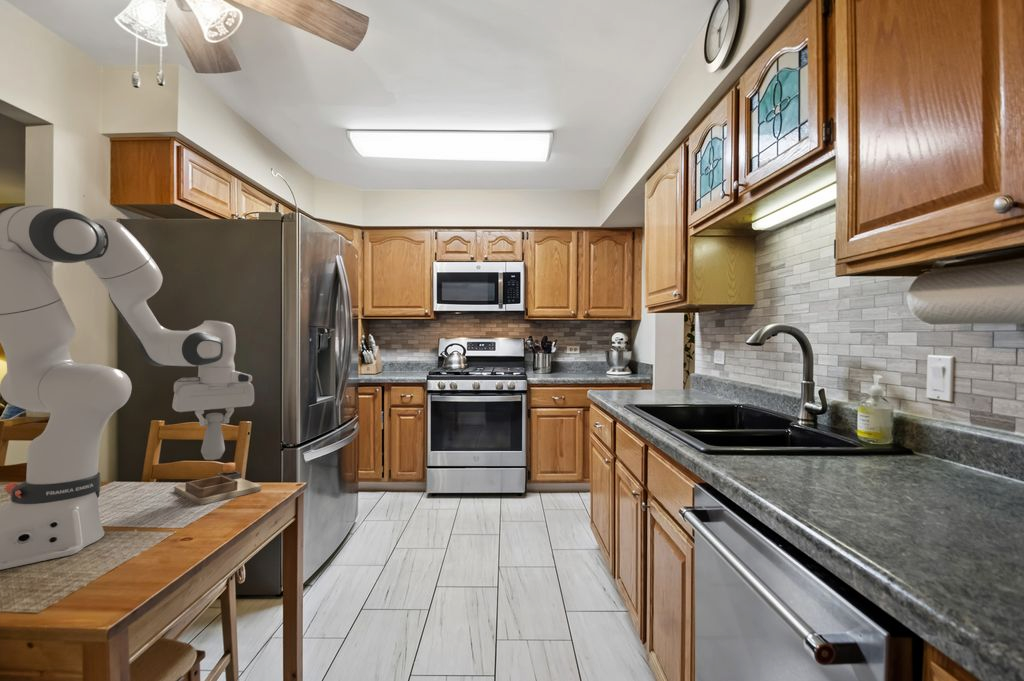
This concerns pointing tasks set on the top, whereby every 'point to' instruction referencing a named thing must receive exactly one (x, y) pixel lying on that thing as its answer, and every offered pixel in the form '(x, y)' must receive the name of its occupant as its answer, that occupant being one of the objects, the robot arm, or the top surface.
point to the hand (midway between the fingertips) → (214, 424)
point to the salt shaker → (213, 438)
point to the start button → (228, 467)
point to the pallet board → (217, 488)
